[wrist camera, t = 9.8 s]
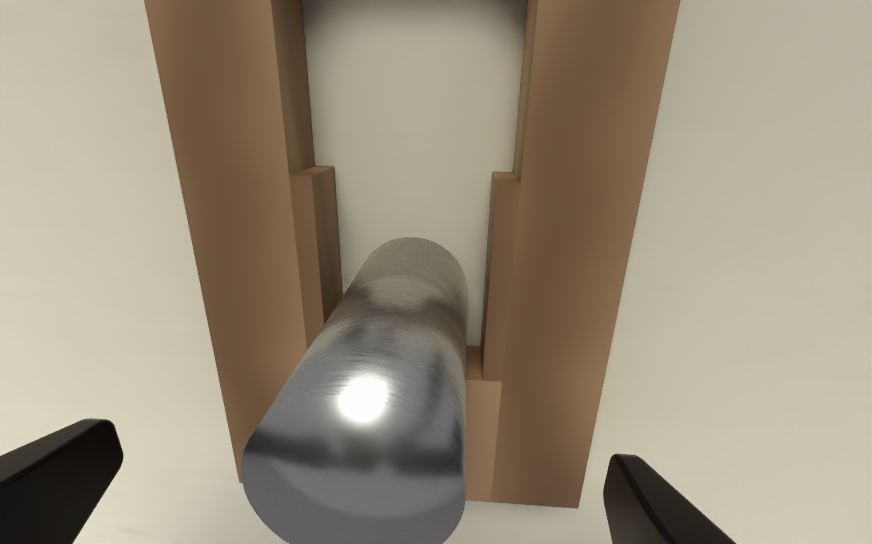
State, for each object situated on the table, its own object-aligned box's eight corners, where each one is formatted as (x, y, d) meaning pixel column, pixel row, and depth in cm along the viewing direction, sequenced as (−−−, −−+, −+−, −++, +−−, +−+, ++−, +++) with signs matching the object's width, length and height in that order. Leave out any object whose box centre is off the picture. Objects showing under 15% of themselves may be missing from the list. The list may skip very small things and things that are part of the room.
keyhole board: (690, -249, 9) (748, -341, 7) (565, 462, 16) (578, 508, 14) (155, -238, 10) (81, -319, 8) (264, 441, 17) (239, 482, 15)
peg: (469, 239, 13) (471, 405, 6) (463, 339, 15) (460, 575, 7) (357, 235, 14) (224, 389, 6) (361, 333, 15) (256, 557, 7)
